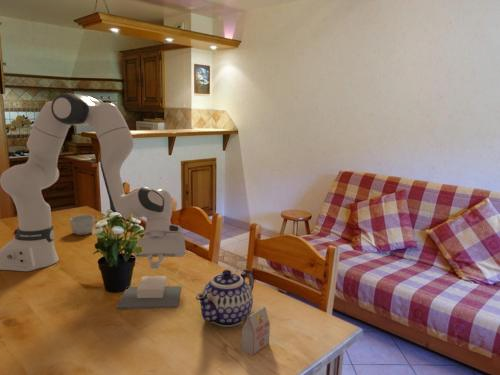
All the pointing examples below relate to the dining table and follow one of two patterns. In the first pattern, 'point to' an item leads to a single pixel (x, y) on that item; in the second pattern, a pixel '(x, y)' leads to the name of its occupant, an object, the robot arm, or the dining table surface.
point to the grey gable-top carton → (256, 332)
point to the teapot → (227, 298)
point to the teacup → (82, 224)
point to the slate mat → (150, 299)
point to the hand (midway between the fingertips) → (154, 268)
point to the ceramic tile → (152, 287)
